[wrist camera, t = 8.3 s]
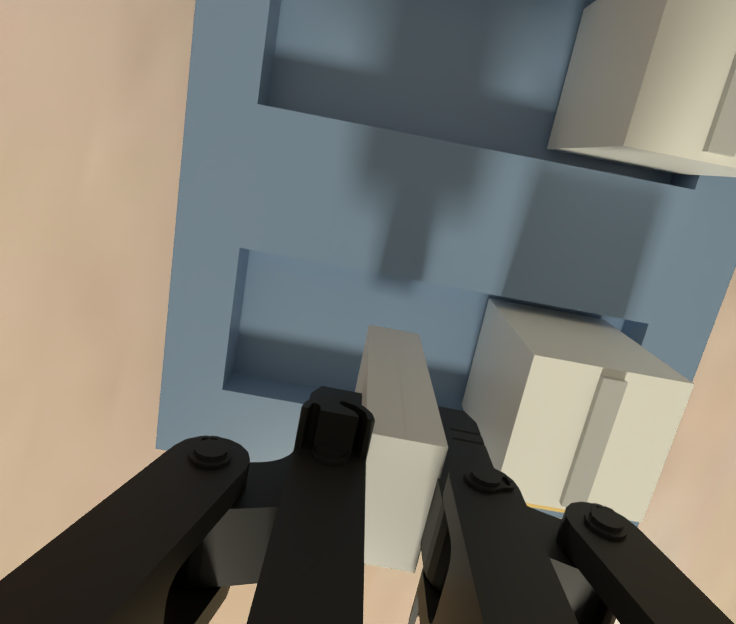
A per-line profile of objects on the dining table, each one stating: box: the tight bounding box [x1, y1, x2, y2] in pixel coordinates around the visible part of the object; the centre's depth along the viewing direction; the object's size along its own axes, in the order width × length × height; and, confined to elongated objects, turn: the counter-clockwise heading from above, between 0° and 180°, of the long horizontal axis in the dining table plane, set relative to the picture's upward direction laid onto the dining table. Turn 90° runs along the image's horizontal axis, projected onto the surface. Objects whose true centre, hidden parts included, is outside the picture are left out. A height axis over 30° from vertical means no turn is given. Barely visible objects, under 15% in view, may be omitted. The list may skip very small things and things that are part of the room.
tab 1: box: [547, 0, 736, 177], centre depth 14 cm, size 4×4×6 cm
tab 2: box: [462, 298, 694, 523], centre depth 16 cm, size 4×4×6 cm
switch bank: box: [156, 0, 736, 527], centre depth 18 cm, size 17×20×3 cm
